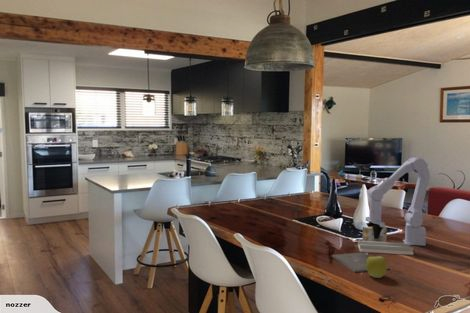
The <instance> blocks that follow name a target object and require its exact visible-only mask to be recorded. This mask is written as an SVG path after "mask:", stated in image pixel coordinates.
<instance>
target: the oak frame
mask: <svg viewBox="0 0 470 313" xmlns="http://www.w3.org/2000/svg"><path fill="white" fill-rule="evenodd" d="M387 231H388V227H387V226H385V227H384V228H383V229H382V231H381V233H380V236H379V239H375V238H374V230H373V227H372V226H371V227H368V226H363V227H362V240H361V241H376V242H387V233H388V232H387Z"/></svg>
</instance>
